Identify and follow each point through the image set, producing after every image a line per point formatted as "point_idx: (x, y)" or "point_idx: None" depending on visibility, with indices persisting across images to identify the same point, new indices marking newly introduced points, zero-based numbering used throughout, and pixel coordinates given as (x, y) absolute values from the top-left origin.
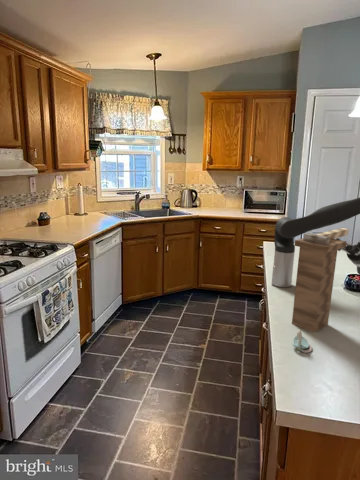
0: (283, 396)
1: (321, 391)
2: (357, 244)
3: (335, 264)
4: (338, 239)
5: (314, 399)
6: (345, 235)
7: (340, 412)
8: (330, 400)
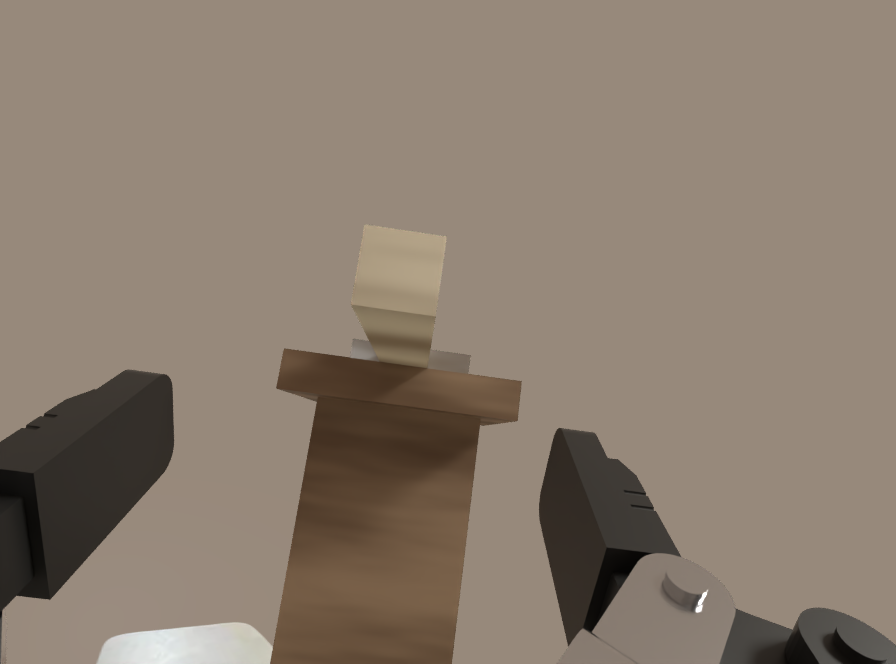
0: (250, 634)
1: (178, 660)
2: (167, 420)
3: (296, 518)
4: (557, 452)
5: (190, 644)
6: (359, 318)
7: (135, 640)
8: (156, 651)
